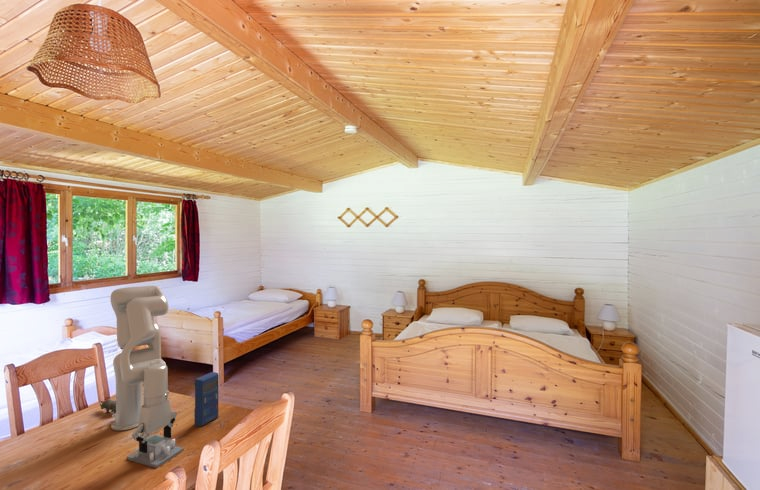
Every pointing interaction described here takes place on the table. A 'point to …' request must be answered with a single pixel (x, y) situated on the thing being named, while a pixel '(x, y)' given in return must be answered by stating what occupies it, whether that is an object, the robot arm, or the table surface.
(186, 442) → the table surface
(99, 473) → the table surface
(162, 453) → the drive
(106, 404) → the rhino figurine
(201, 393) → the electronic device
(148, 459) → the grey pegged base plate
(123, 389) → the robot arm
